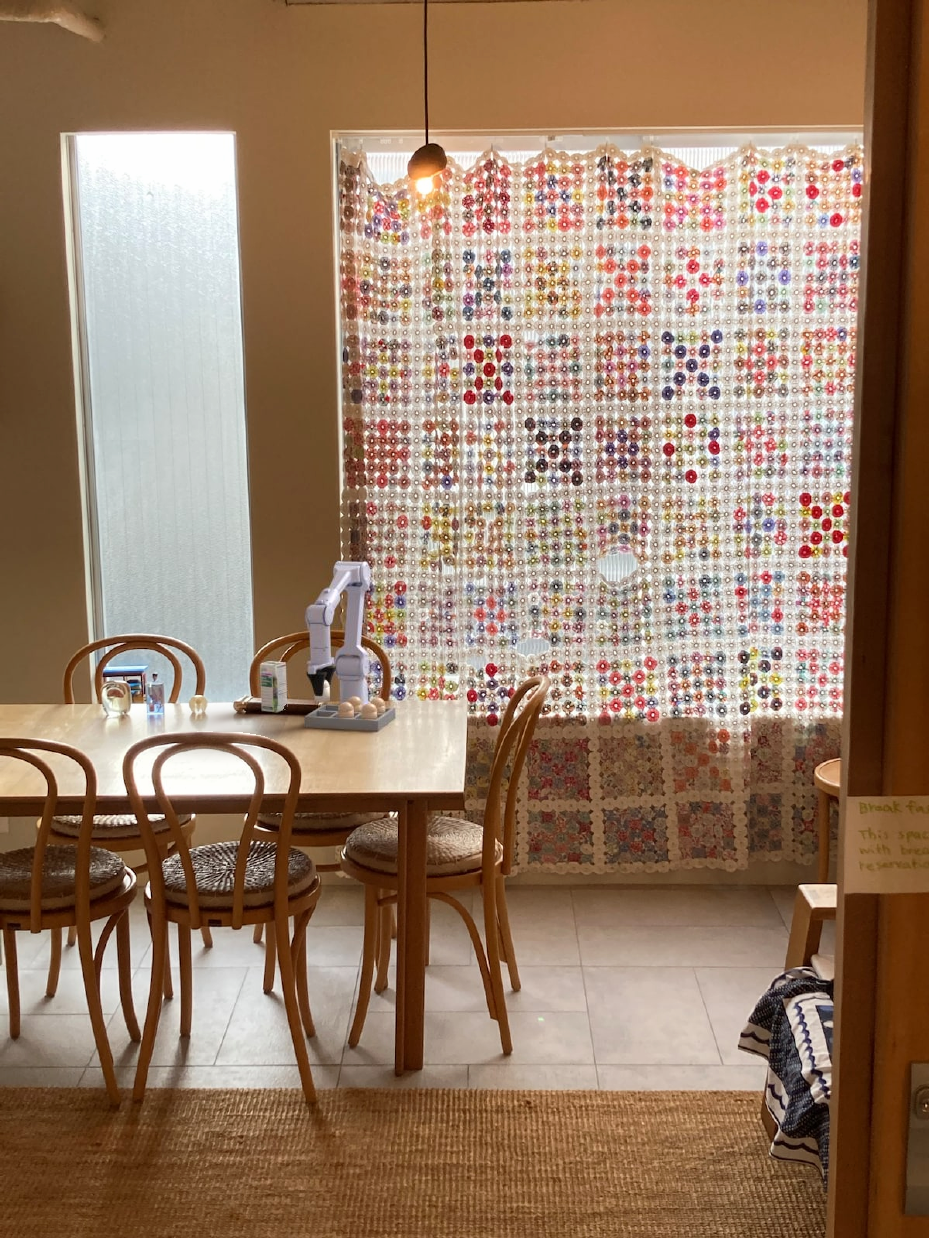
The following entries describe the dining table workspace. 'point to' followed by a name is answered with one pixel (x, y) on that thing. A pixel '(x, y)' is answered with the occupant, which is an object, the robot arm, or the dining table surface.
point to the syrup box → (273, 686)
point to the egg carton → (352, 715)
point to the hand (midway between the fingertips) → (322, 693)
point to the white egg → (324, 694)
